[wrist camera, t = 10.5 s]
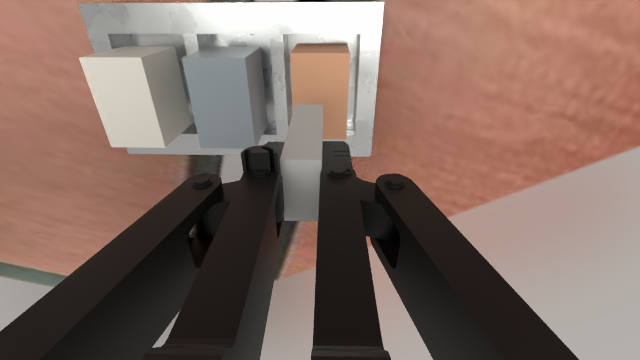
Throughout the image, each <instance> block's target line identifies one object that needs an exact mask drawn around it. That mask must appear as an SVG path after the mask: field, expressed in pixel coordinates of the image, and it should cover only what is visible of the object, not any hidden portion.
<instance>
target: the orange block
mask: <svg viewBox="0 0 640 360" xmlns="http://www.w3.org/2000/svg"><path fill="white" fill-rule="evenodd" d="M290 62H291V83H292V104H293V111H294V108H295V104H311V105H323V139H334V140H346V136H347V112H348V88H349V64H350V52H349V48H348V45H347V43H297V44H296V46H295V47H294V48H293V50H292V51H291V53H290Z"/></svg>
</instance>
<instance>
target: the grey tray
mask: <svg viewBox="0 0 640 360" xmlns="http://www.w3.org/2000/svg"><path fill="white" fill-rule="evenodd" d="M78 6H79V9H80V12H81V15H82V18H83V21H84V24H85V27H86V30H87V33H88V36H89V39H90V42H91V45H92V48H93V51H94V54H95V53H99V52H103V51H107V50H111V49H115V48H119V47H123V46H175V49H176V54H177V58H178V63H179V68H180V72H181V77H182V81H183V86H184V91H185V95H186V100H187V104H188V109H189V114H190V118H191V123H192V124H191V125H190V126H189V127H188V128H186V129H185V130H184V131H183V132H182V133H181V134H180V135H179V136H178V137H177V138H176V139H174V140H173V141H172V142H171V143H170V144H169V145H168V146H167V147H166V148H136V147H126V148H127V151H128V154H178V155H241V152H242V151H243V150H244V149H221V148H200V143H199V138H198V134H197V129H196V124H195V119H194V115H193V110H192V105H191V100H190V96H189V91H188V86H187V81H186V77H185V72H184V67H183V62H182V57H184V56H187V55H189V54H192V53H194V52H196V51H199V50H201V49H204V48H206V47H208V46H226V47H261V56H262V67H263V78H264V89H265V100H266V111H267V122H268V125H267V127H266V129H265V131H264V133H263V135H262V137H261V139H260V141H259V143H258V145H265V144H266V143H267V142H285V140H286V136H287V133H288V129H289V125H290V122H291V118H292V115H293V104H292V83H291V62H290V53H291V51H292V50H293V48H294V47H295V46H296V44H297V43H347V45H348V48H349V52H350V64H349V88H348V112H347V136H346V140H334V139H323V141H344V142H346V143H347V144H348V145H349V148H350V155H351V157H371V149H372V137H373V126H374V114H375V102H376V91H377V79H378V67H379V56H380V44H381V32H382V21H383V9H384V2H378V1H339V2H103V3H78ZM258 145H257V146H258Z"/></svg>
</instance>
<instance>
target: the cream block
mask: <svg viewBox="0 0 640 360" xmlns="http://www.w3.org/2000/svg"><path fill="white" fill-rule="evenodd" d="M79 60H80V62H81V65H82V68H83V71H84V73H85V76H86V79H87V82H88V84H89V87H90V90H91V93H92V95H93V98H94V101H95V104H96V106H97V109H98V112H99V115H100V117H101V120H102V123H103V126H104V128H105V131H106V134H107V136H108V139H109V142H110V145H111V147H136V148H166V147H167V146H168V145H169V144H170V143H171V142H172V141H173V140H174V139H176V138H177V137H178V136H179V135H180V134H181V133H182V132H183V131H184V130H185V129H186V128H188V127H189V126H190V125H191V124H192V123H191V118H190V114H189V109H188V104H187V100H186V95H185V91H184V86H183V81H182V77H181V72H180V68H179V63H178V58H177V54H176V49H175V46H123V47H119V48H115V49H111V50H107V51H103V52H99V53H95V54H90V55H86V56H82V57H79Z"/></svg>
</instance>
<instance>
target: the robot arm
mask: <svg viewBox="0 0 640 360" xmlns="http://www.w3.org/2000/svg"><path fill="white" fill-rule="evenodd" d="M241 159H242V165H243V171H244V172H243V175H242V177H241V179H240V180H239V181H235V182H230V183H224V184H222V182H221V178H220V177H219V176H218V175H214V174H206V173H205V174H198V175H196V176H193V177H191V178H189V179H187V180H186V181H185V182H183V183H182V184H181V185H180V186H178V187H177V188H176V189H175V190H174V191H172V192H171V193H170V194H169V195H167V196H166V197H165V198H164V199H163V200H161V201H160V202H159V203H158V204H156V205H155V206H154V207H153V208H151V209H150V210H149V211H148V212H147V213H145V214H144V215H143V216H142V217H140V218H139V219H138V220H137V221H135V222H134V223H133V224H132V225H131V226H129V227H128V228H127V229H126V230H124V231H123V232H122V233H121V234H120V235H118V236H117V237H116V238H115V239H113V240H112V241H111V242H110V243H108V244H107V245H106V246H105V247H104V248H102V249H101V250H100V251H99V252H97V253H96V254H95V255H94V256H92V257H91V258H90V259H89V260H88V261H86V262H85V263H84V264H83V265H81V266H80V267H79V268H78V269H76V270H75V271H74V272H73V273H72V274H70V275H69V276H68V277H67V278H65V279H64V280H63V281H62V282H61V283H59V284H58V285H57V286H56V287H54V288H53V289H52V290H51V291H50V292H48V293H47V294H46V295H45V296H43V297H42V298H41V299H40V300H38V301H37V302H36V303H35V304H34V305H32V306H31V307H30V308H29V309H27V310H26V311H25V312H24V313H22V314H21V315H20V316H19V317H18V318H16V319H15V320H14V321H13V322H11V323H10V324H9V325H8V326H6V327H5V328H4V329H3V330H2V331H0V360H260V355H261V349H262V344H263V338H264V333H265V327H266V322H267V316H268V311H269V305H270V300H271V294H272V288H273V283H274V277H275V272H276V266H277V261H278V255H279V250H280V244H281V239H282V233H283V219H282V218H283V213H284V221H318V236H317V260H316V284H315V308H314V333H313V349H312V354H311V360H391V358H390V355H389V353H388V351H385V350H384V347H383V343H382V337H381V331H380V325H379V319H378V312H377V306H376V299H375V293H374V286H373V280H372V273H371V267H370V261H369V254H368V248H367V241H366V236H369V237H370V240H371V244H372V246H373V248H374V249H375V251H376V253H377V255H378V257H379V259H380V261H381V262H382V264H383V266H384V268H385V270H386V272H387V274H388V276H389V278H390V279H391V281H392V283H393V285H394V287H395V289H396V291H397V292H398V294H399V296H400V298H401V300H402V302H403V304H404V306H405V308H406V309H407V311H408V313H409V315H410V317H411V319H412V321H413V322H414V324H415V326H416V328H417V330H418V332H419V334H420V336H421V337H422V339H423V341H424V343H425V344H426V347H427V349H428V350H429V352H430V354H431V356H432V358H433V360H579V359H578V358H577V357H576V356H575V355H574V354H573V353H572V352H571V350H570V349H569V348H568V347H567V346H566V345H565V344H564V343H563V342H562V341H561V340H560V339H559V338H558V337H557V335H556V334H555V333H554V332H553V331H552V330H551V329H550V328H549V327H548V326H547V325H546V324H545V323H544V322H543V320H541V318H540V317H539V316H538V315H537V314H536V313H535V312H534V311H533V310H532V309H531V308H530V307H529V305H528V304H527V303H526V302H525V301H524V300H523V299H522V298H521V297H520V296H519V295H518V294H517V293H516V292H515V291H514V289H513V288H512V287H511V286H510V285H509V284H508V283H507V282H506V281H505V280H504V279H503V278H502V276H501V275H500V274H499V273H498V272H497V271H496V270H495V269H494V268H493V267H492V266H491V265H490V264H489V262H488V261H487V260H486V259H485V258H484V257H483V256H482V255H481V254H480V253H479V252H478V251H477V250H476V249H475V248H474V246H472V244H471V243H470V242H469V241H468V240H467V239H466V238H465V237H464V236H463V235H462V234H461V233H460V231H459V230H458V229H457V228H456V227H455V226H454V225H453V224H452V223H451V222H450V221H449V220H448V219H447V217H446V216H445V215H444V214H443V213H442V212H441V211H440V210H439V209H438V208H437V207H436V206H435V205H434V203H433V202H432V201H431V200H430V199H429V198H428V197H427V196H426V195H425V194H424V193H423V192H422V191H421V190H420V188H419V187H418V186H417V185H416V184H415V183H414V182H413V181H412V180H411V179H409V178H408V177H405V176H403V175H400V174H385V175H381V176H380V177H378V178H377V180H376V183H372V182H367V181H364V180H361V179H359V178H358V177H356V173H355V171H354V170H353V168H352V161H351V155H350V148H349V145H348V144H347V143H346V142H344V141H323V105H311V104H295V108H294V111H293V115H292V118H291V122H290V125H289V129H288V133H287V136H286V140H285V142H267V143H266V144H265V145H258V146H252V147H248V148H246V149H244V150H243V151H242V152H241ZM192 227H193V229H194V232H193V233H192V234H191V235H190V236H189V232H190V230H191V229H192ZM180 309H181V310H180ZM179 311H180V313H179V315H178V317H177V319H176V321H175V324H174V326H173V328H172V330H171V332H170V335H169V337H168V339H167V340H166V342H165V344H164V345H163V346H161V347H157V348H152V347H153V345H154V344H155V343H156V341H157V340H158V339H159V337H160V336H161V335H162V333H163V332H164V331H165V329H166V328H167V327H168V325H169V324H170V323H171V321H172V320H173V319H174V317H175V316H176V315H177V313H178V312H179Z"/></svg>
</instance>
